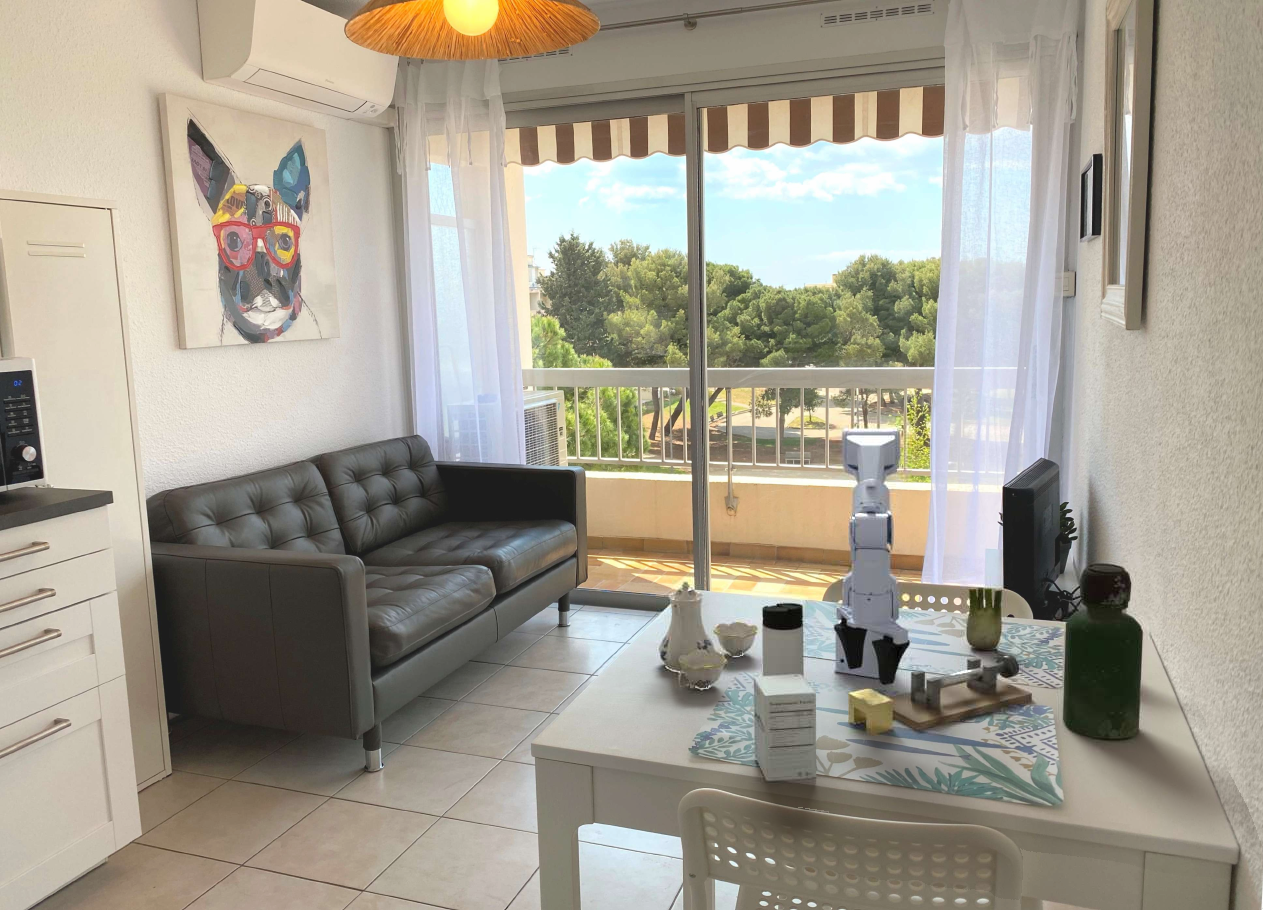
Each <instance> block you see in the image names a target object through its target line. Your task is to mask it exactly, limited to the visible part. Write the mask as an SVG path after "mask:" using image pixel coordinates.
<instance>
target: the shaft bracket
mask: <svg viewBox="0 0 1263 910" xmlns="http://www.w3.org/2000/svg"><path fill="white" fill-rule="evenodd" d="M966 663H967V664H966V665H967V666H966V671H967V670H971V669H975V668H980V667H983V678H982V679H978V680H974V681H970V682H966V683H962V684H958V685H954V686H950V687H946V688H941V679H940V678H938V677H937V676H934V677H930V678H926V672H925V671H923V670H921V669H919V670H915V671H911V672H910V692H906V693H903V694H897V695H894V696H889V697H888V698H889V699H891V700H893V719H896V720H897V721H899V722H901V723H903V724H905V725H906V726H908V727H910V728H912V729H913V730H916V731H921V730H925V729H929V728H932V727H937V726H939V725H943V724H948V723H951V722H954V721H958V720H959V721H960V720H963V719H966V718H970V717H973V716H977V715H981V714H986V713H988V712H993V711H997V710H1000V709H1004V708H1008V707H1011V706H1015V705H1019V704H1023V703H1027V702H1031V701H1033V693H1032V692H1029V691H1027V690H1025V689H1023V688H1020V687H1018V686H1016V685H1013V684H1010V683H1008V682H1005V681H1003V680H1001V679H998V675H997V665H995V664H996V663H989V664H985V665H982V659H981V658H979V657H971V658H969V659H968V658H967V661H966Z"/></svg>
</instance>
